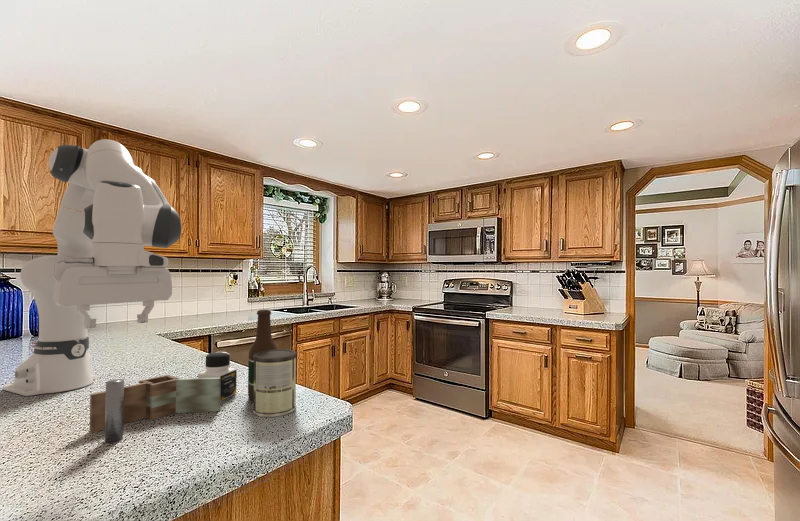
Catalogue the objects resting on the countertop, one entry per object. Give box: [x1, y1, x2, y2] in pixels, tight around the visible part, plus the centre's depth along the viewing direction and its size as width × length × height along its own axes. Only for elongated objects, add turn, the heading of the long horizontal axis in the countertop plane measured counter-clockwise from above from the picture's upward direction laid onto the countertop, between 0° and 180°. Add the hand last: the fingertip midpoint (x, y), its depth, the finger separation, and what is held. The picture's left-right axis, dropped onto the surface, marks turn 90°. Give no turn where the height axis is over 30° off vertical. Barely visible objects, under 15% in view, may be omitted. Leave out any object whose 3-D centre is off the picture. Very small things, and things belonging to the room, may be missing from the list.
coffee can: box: [252, 348, 297, 418], centre depth 98 cm, size 10×10×14 cm
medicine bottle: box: [197, 351, 237, 402], centre depth 108 cm, size 7×7×12 cm
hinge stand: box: [89, 374, 221, 434], centre depth 92 cm, size 23×14×8 cm, turn 147°
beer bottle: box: [247, 309, 278, 403], centre depth 107 cm, size 8×8×24 cm
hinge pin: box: [104, 378, 125, 444], centre depth 80 cm, size 3×3×12 cm
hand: (117, 325), depth 81 cm, fingers open, 8 cm apart
